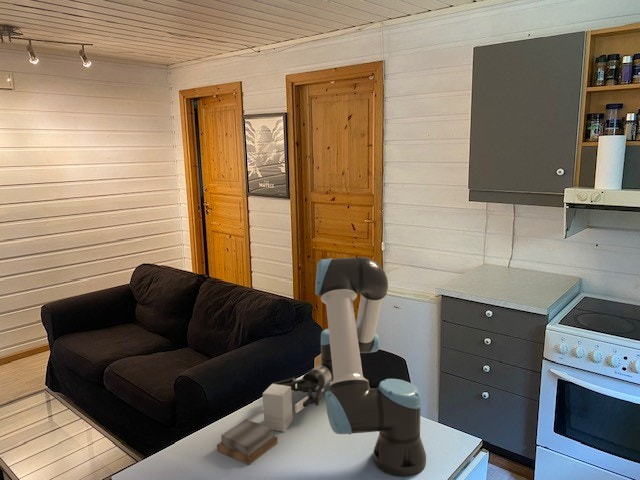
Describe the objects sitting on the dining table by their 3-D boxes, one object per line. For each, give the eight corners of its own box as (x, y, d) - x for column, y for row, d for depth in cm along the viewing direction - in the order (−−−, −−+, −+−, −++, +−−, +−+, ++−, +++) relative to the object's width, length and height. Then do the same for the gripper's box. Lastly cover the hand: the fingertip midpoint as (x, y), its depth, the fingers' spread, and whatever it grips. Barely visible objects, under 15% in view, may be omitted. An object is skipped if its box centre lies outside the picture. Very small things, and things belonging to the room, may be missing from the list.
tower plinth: (277, 443, 151) (277, 428, 150) (249, 465, 140) (248, 449, 140) (246, 430, 158) (246, 416, 157) (217, 450, 148) (216, 435, 147)
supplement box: (293, 421, 164) (292, 386, 162) (284, 432, 157) (282, 396, 155) (273, 417, 166) (272, 382, 164) (263, 428, 159) (262, 392, 157)
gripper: (345, 397, 173) (310, 424, 155) (290, 380, 187) (252, 403, 170) (345, 377, 171) (309, 402, 154) (289, 362, 186) (251, 383, 168)
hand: (279, 403), depth 162 cm, fingers open, 13 cm apart
